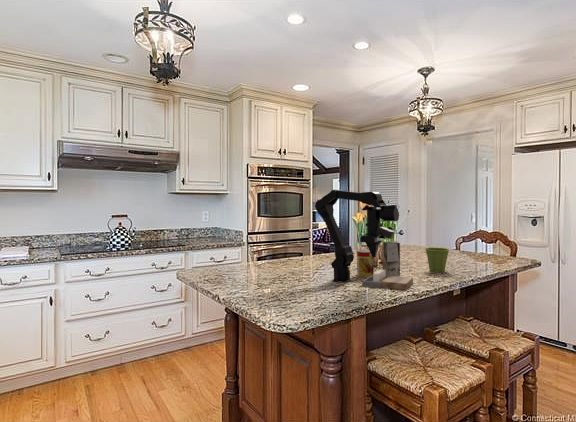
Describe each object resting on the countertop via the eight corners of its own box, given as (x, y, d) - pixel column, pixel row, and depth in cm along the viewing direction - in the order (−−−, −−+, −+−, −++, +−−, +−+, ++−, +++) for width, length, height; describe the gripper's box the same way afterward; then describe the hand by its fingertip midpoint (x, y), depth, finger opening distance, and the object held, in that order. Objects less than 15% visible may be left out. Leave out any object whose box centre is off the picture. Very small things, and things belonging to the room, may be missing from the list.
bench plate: (381, 287, 152) (381, 281, 152) (389, 281, 163) (389, 275, 163) (406, 289, 147) (406, 283, 147) (412, 283, 158) (412, 277, 158)
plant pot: (425, 272, 181) (425, 250, 181) (424, 268, 192) (423, 247, 192) (451, 273, 177) (451, 250, 177) (448, 269, 189) (448, 247, 188)
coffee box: (400, 276, 172) (400, 242, 172) (387, 277, 172) (386, 243, 172) (395, 273, 181) (395, 240, 181) (382, 273, 181) (382, 241, 181)
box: (362, 285, 155) (362, 281, 155) (372, 279, 168) (372, 274, 168) (381, 287, 151) (381, 282, 151) (390, 280, 164) (390, 276, 164)
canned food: (375, 276, 173) (375, 251, 173) (358, 277, 173) (358, 252, 173) (371, 273, 181) (371, 249, 181) (356, 273, 181) (355, 249, 181)
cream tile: (379, 285, 154) (373, 284, 155) (385, 280, 163) (380, 280, 164) (378, 273, 154) (373, 273, 155) (385, 269, 162) (379, 269, 164)
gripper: (386, 222, 144) (386, 261, 144) (398, 220, 160) (398, 255, 160) (359, 222, 149) (359, 259, 150) (373, 219, 165) (373, 253, 166)
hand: (374, 257), depth 156 cm, fingers closed
